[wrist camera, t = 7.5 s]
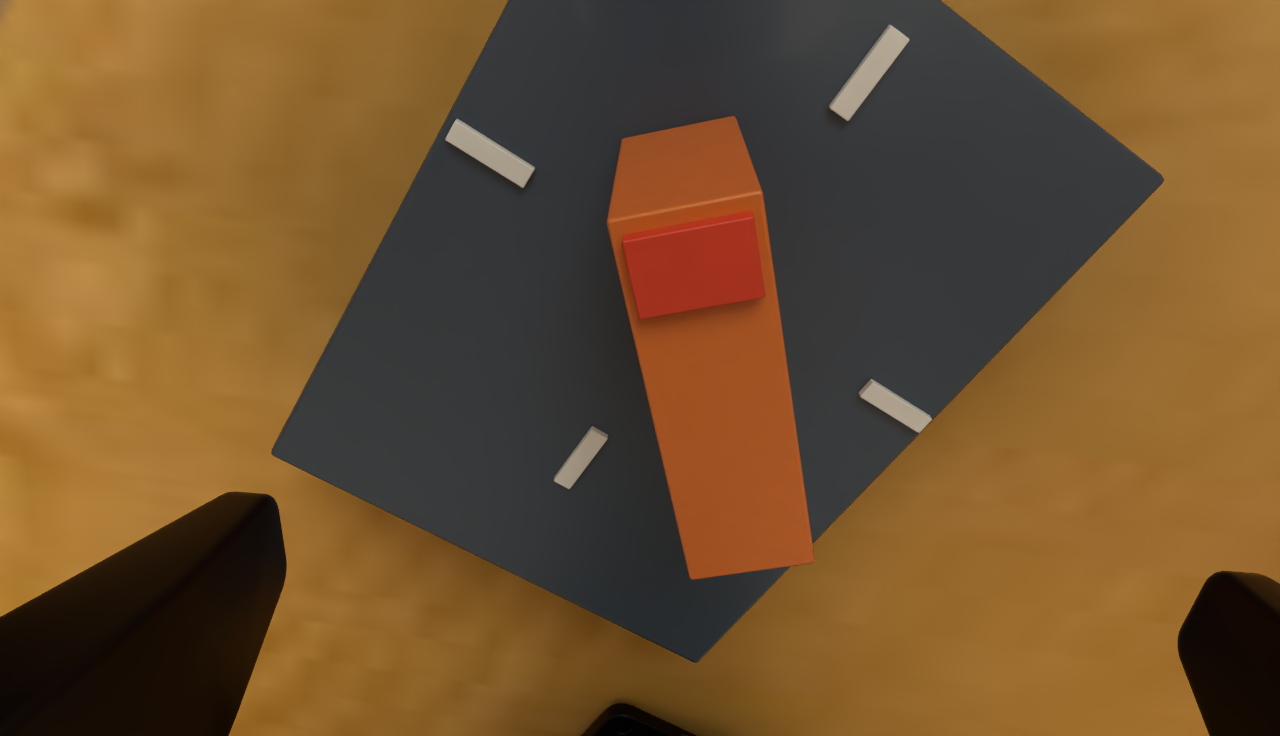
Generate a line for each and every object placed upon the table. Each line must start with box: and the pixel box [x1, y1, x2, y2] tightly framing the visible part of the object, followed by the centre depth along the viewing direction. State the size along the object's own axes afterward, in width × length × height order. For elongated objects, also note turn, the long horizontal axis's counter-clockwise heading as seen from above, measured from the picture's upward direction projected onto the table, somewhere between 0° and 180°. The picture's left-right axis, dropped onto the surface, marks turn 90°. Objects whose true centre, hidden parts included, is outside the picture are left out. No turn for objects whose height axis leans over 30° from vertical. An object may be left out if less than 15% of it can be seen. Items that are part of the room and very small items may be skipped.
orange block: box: [607, 116, 815, 580], centre depth 12 cm, size 6×2×4 cm, turn 12°
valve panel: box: [271, 0, 1164, 662], centre depth 16 cm, size 13×10×3 cm
